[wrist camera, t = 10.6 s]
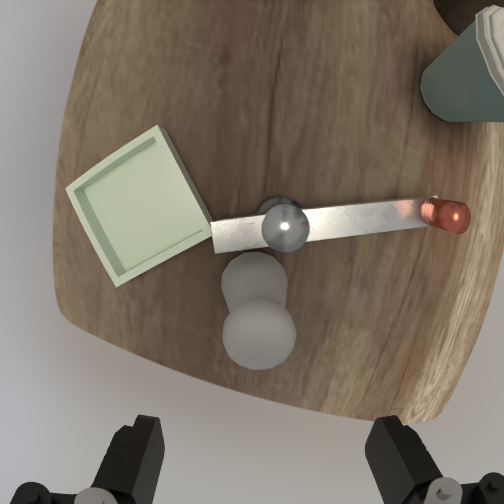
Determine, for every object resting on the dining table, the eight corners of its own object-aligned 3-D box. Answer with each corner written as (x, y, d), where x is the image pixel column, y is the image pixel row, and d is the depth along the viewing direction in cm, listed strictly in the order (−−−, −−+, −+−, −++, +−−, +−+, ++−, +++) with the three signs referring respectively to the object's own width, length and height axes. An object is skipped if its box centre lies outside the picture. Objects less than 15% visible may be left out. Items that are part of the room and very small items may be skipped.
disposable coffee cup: (403, 127, 26) (508, 101, 11) (397, 37, 24) (476, -25, 9) (476, 146, 26) (575, 143, 12) (469, 64, 24) (553, 33, 9)
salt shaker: (262, 314, 30) (272, 400, 17) (211, 285, 29) (189, 359, 16) (296, 266, 29) (331, 329, 16) (244, 233, 28) (243, 277, 15)
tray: (80, 187, 27) (65, 188, 24) (166, 130, 26) (157, 124, 23) (127, 277, 29) (116, 287, 26) (217, 228, 28) (214, 234, 25)
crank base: (245, 209, 28) (246, 211, 26) (289, 187, 27) (292, 188, 25) (267, 251, 28) (269, 257, 27) (310, 230, 28) (314, 234, 26)
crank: (219, 252, 26) (210, 277, 19) (212, 210, 25) (201, 221, 19) (426, 226, 26) (470, 239, 19) (425, 188, 25) (470, 193, 18)
